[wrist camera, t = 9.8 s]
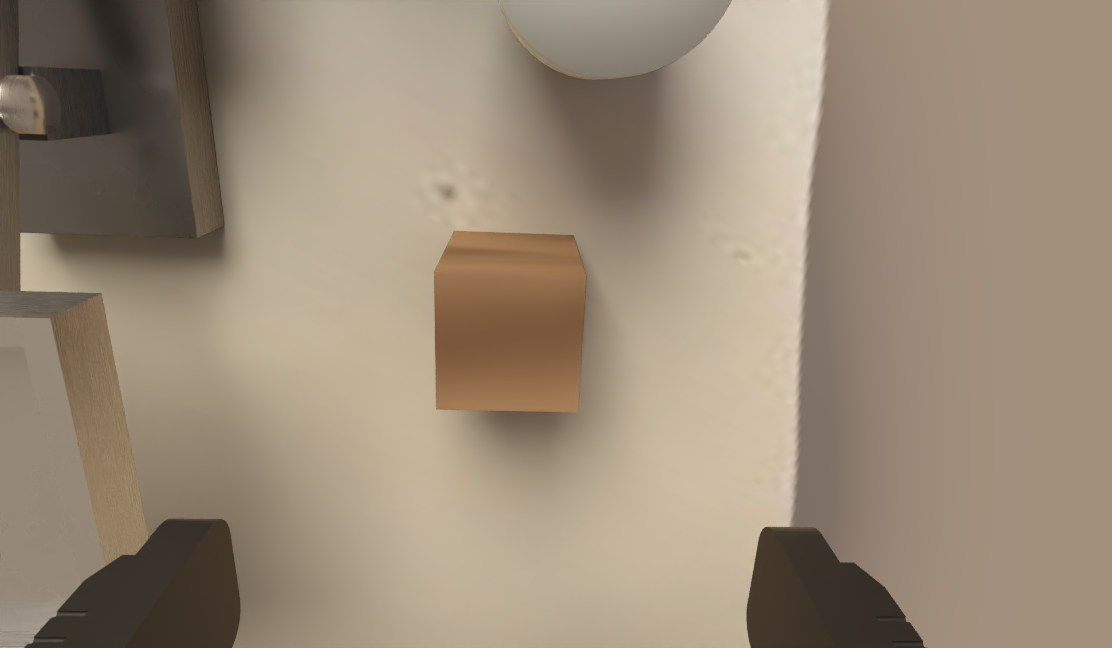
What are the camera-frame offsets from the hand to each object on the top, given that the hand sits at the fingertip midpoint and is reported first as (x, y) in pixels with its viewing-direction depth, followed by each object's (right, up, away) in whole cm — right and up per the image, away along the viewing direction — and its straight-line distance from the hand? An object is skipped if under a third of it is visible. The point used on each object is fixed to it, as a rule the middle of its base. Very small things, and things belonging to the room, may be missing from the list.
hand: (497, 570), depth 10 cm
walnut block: (-1, +5, +14) cm, 15 cm away
